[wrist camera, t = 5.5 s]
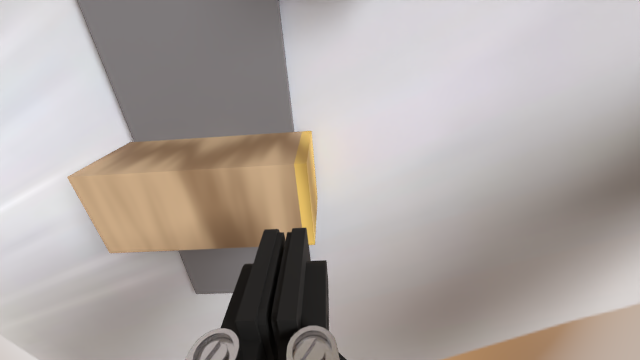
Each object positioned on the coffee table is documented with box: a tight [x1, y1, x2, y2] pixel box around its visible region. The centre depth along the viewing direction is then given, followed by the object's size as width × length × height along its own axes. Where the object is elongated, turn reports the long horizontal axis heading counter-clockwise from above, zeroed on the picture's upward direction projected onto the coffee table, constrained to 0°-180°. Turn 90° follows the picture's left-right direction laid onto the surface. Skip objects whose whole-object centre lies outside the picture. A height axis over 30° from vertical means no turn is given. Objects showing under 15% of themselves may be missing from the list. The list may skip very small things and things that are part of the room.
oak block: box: [67, 131, 317, 253], centre depth 17 cm, size 5×5×12 cm
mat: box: [77, 0, 294, 294], centre depth 19 cm, size 10×24×1 cm, turn 4°
